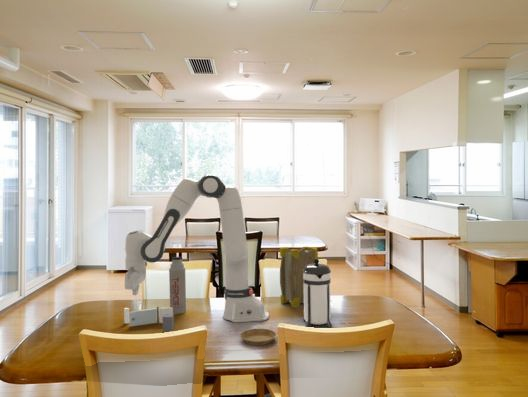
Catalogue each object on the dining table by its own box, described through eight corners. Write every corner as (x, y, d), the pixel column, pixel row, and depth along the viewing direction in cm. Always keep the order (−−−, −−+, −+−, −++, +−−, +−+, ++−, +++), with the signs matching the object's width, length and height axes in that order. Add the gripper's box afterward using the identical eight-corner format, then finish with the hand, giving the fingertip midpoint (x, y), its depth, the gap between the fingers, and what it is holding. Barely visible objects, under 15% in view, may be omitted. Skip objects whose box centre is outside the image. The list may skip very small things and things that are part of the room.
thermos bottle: (180, 314, 211) (179, 258, 210) (166, 313, 214) (165, 258, 213) (189, 310, 219) (187, 256, 218) (175, 309, 222) (174, 255, 221)
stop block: (174, 329, 189) (173, 314, 189) (172, 332, 185) (171, 317, 185) (165, 329, 189) (164, 314, 189) (162, 332, 185) (162, 317, 185)
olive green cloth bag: (307, 297, 241) (306, 244, 240) (320, 301, 232) (319, 246, 231) (278, 303, 230) (277, 248, 229) (291, 308, 220) (290, 250, 220)
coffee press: (341, 323, 195) (341, 258, 194) (319, 331, 184) (319, 262, 183) (312, 315, 207) (311, 254, 207) (290, 323, 196) (289, 258, 195)
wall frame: (172, 322, 200) (172, 306, 200) (172, 322, 199) (171, 307, 199) (125, 322, 200) (124, 306, 200) (124, 323, 199) (124, 307, 199)
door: (156, 321, 200) (156, 308, 200) (157, 323, 198) (156, 309, 198) (130, 325, 195) (129, 311, 195) (130, 326, 193) (130, 312, 193)
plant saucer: (273, 348, 166) (273, 341, 166) (236, 346, 169) (236, 340, 169) (278, 335, 181) (278, 329, 181) (244, 333, 183) (244, 327, 183)
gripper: (134, 269, 189) (135, 300, 190) (148, 261, 210) (148, 289, 210) (120, 269, 189) (121, 300, 190) (135, 261, 210) (135, 289, 210)
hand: (135, 294), depth 200 cm, fingers closed
